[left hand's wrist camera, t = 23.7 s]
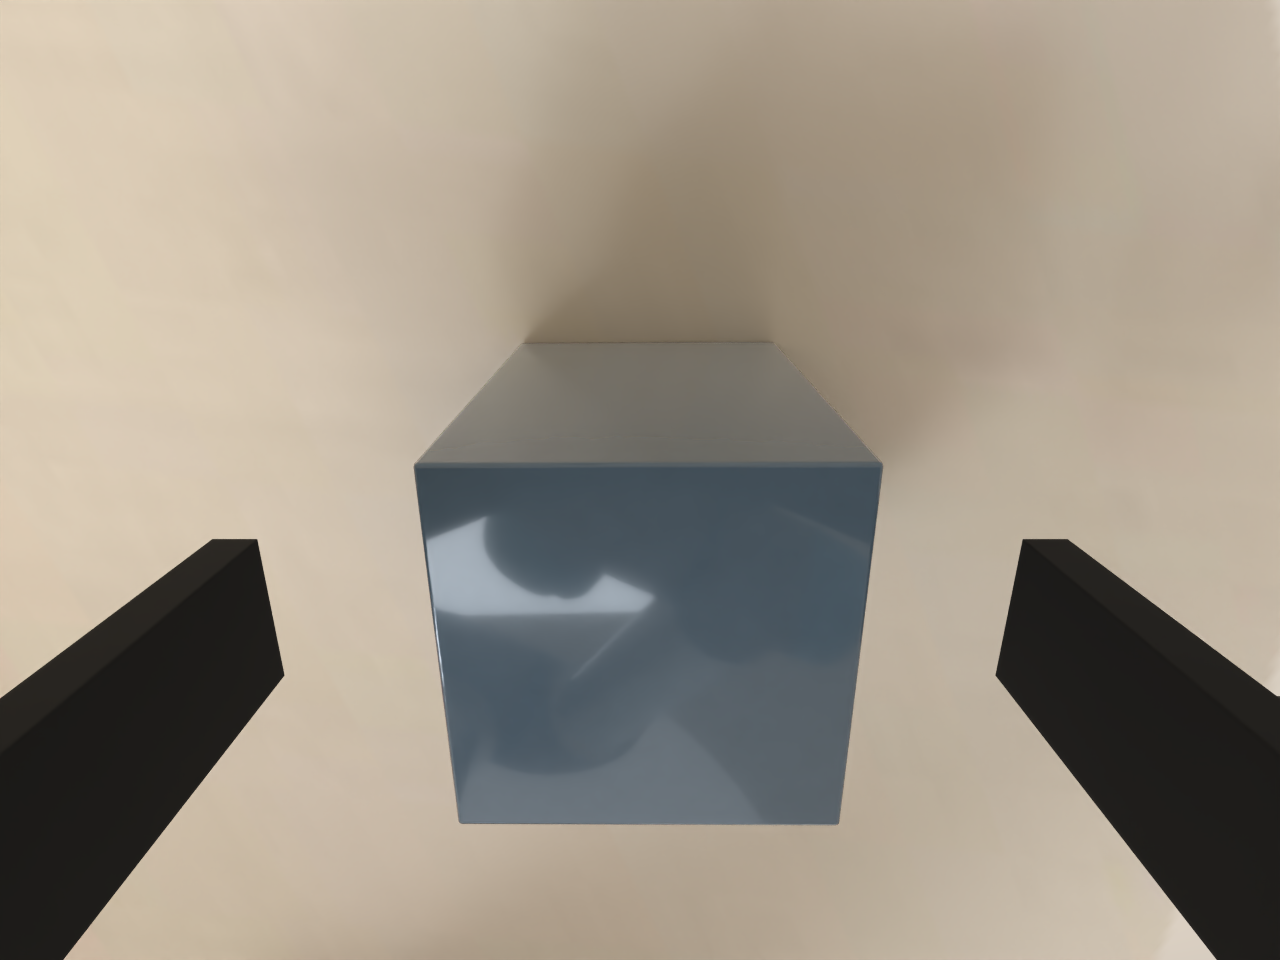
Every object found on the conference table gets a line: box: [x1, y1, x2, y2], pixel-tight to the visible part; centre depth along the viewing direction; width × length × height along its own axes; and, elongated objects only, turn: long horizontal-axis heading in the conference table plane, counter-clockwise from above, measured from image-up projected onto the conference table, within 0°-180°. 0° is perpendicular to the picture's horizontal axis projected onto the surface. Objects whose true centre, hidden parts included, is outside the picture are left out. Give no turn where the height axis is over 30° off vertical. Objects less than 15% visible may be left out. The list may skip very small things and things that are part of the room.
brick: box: [414, 342, 883, 825], centre depth 14 cm, size 6×6×8 cm
